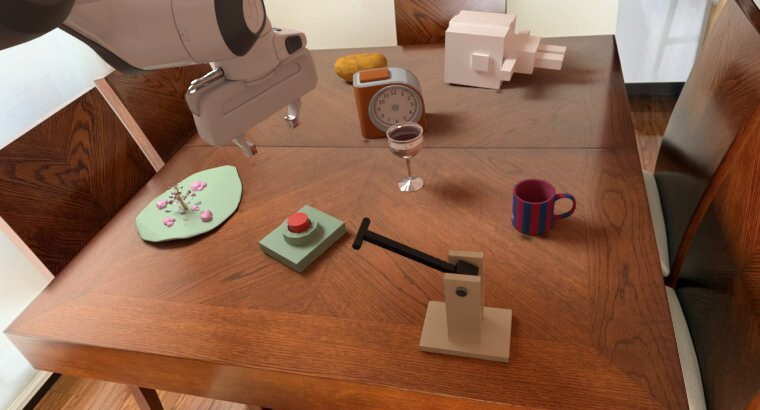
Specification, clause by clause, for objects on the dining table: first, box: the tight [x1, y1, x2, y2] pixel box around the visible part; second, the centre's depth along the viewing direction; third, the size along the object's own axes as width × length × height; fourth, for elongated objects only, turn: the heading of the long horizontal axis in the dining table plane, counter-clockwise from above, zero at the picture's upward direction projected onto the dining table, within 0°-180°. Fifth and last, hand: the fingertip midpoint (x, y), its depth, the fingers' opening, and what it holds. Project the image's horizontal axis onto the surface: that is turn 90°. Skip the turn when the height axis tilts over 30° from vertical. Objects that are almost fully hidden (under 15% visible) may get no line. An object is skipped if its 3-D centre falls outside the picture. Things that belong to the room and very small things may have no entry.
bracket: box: [418, 249, 513, 364], centre depth 67 cm, size 12×8×14 cm, turn 76°
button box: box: [258, 204, 347, 274], centre depth 89 cm, size 12×10×4 cm
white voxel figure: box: [443, 9, 567, 90], centre depth 124 cm, size 15×25×28 cm
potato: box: [333, 52, 389, 83], centre depth 136 cm, size 7×14×7 cm, turn 83°
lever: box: [351, 216, 479, 276], centre depth 63 cm, size 16×5×2 cm, turn 76°
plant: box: [134, 165, 243, 243], centre depth 101 cm, size 25×21×9 cm
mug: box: [511, 178, 577, 236], centre depth 83 cm, size 7×10×7 cm
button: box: [287, 212, 310, 233], centre depth 87 cm, size 4×4×2 cm
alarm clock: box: [352, 66, 428, 139], centre depth 112 cm, size 15×8×14 cm, turn 92°
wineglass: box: [386, 122, 425, 193], centre depth 95 cm, size 7×7×12 cm
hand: (273, 140), depth 77 cm, fingers open, 7 cm apart
